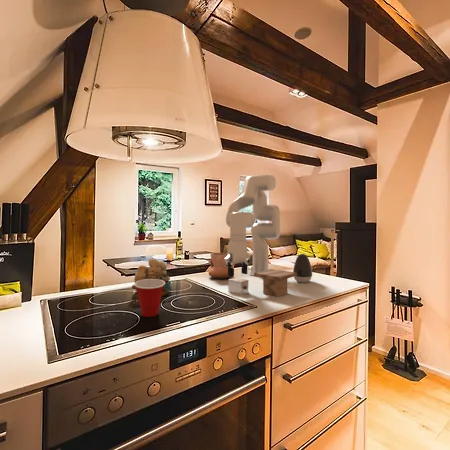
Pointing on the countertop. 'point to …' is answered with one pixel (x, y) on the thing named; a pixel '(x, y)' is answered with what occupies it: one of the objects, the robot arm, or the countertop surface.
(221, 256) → the ceramic jug
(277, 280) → the walnut stand
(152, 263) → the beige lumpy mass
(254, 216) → the robot arm
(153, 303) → the plastic cup
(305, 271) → the dark egg shaped dome
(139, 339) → the countertop surface
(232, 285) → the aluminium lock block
